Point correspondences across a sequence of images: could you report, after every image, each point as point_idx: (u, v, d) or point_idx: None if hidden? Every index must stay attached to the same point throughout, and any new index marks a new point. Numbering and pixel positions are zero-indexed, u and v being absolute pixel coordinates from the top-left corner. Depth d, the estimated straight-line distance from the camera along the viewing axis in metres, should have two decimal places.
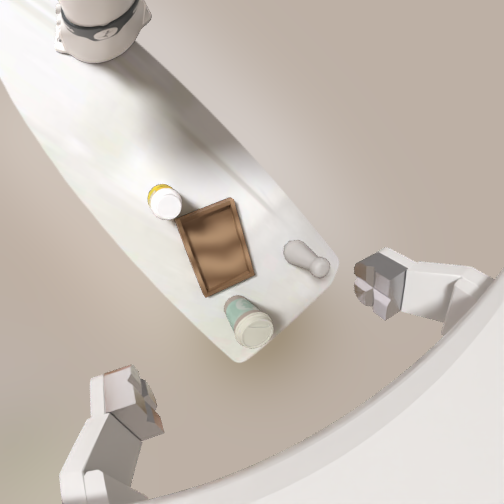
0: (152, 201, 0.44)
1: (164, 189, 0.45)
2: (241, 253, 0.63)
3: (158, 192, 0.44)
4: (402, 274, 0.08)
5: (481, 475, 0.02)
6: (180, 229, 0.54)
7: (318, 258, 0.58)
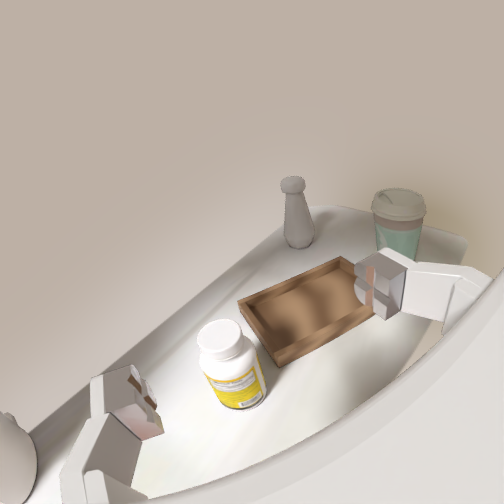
0: (219, 373, 0.23)
1: (200, 360, 0.25)
2: (317, 279, 0.43)
3: (203, 367, 0.24)
4: (402, 274, 0.08)
5: (481, 475, 0.02)
6: (289, 349, 0.31)
7: (282, 189, 0.49)
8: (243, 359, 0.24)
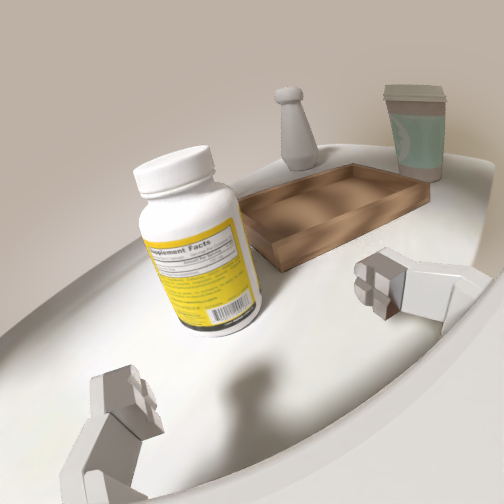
0: (164, 224, 0.12)
1: None
2: (326, 186, 0.32)
3: (141, 223, 0.13)
4: (402, 274, 0.08)
5: (481, 475, 0.02)
6: (297, 237, 0.20)
7: (276, 98, 0.38)
8: (211, 198, 0.13)
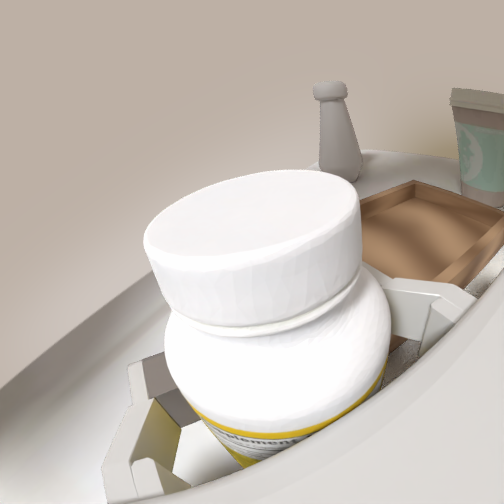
0: (253, 405, 0.04)
1: None
2: (389, 210, 0.24)
3: (177, 373, 0.05)
4: None
5: (481, 475, 0.02)
6: None
7: (317, 94, 0.30)
8: (365, 322, 0.05)
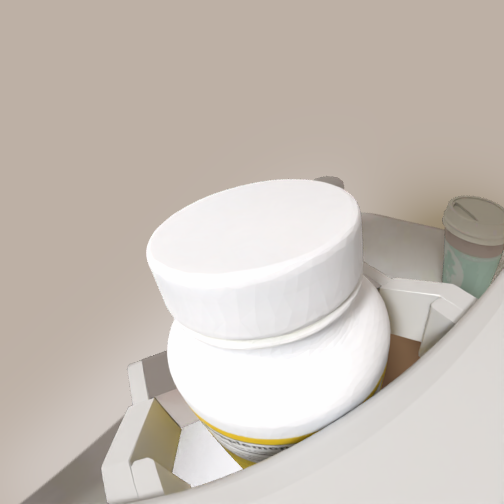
0: (255, 414, 0.04)
1: None
2: None
3: (181, 381, 0.05)
4: None
5: (481, 475, 0.02)
6: None
7: None
8: (365, 333, 0.05)
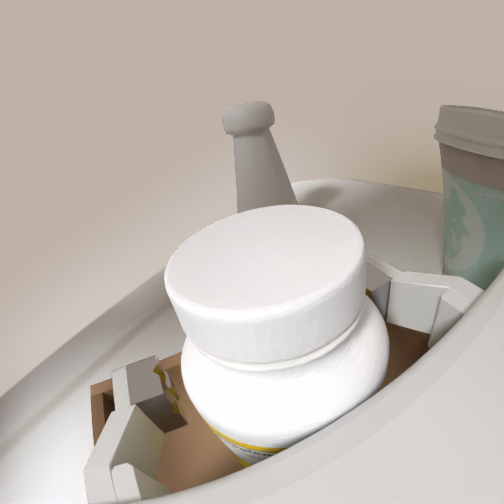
0: (267, 426, 0.05)
1: None
2: None
3: (196, 396, 0.06)
4: (386, 284, 0.08)
5: (481, 475, 0.02)
6: None
7: (224, 126, 0.22)
8: (366, 352, 0.05)
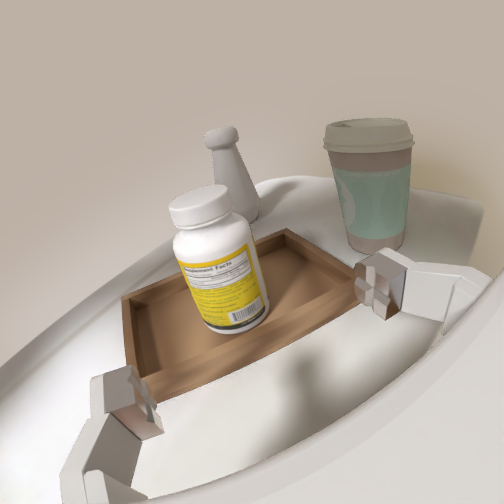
0: (197, 250, 0.17)
1: (173, 244, 0.19)
2: None
3: (177, 248, 0.18)
4: (402, 274, 0.08)
5: (481, 475, 0.02)
6: (152, 380, 0.16)
7: (206, 143, 0.34)
8: (232, 229, 0.18)
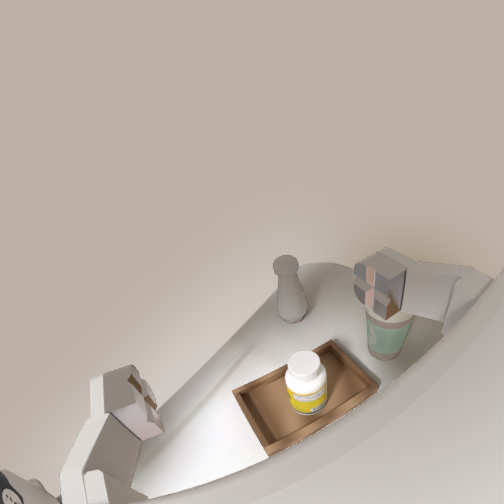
0: (304, 390, 0.32)
1: (286, 381, 0.34)
2: None
3: (291, 386, 0.33)
4: (402, 274, 0.08)
5: (481, 475, 0.02)
6: (277, 445, 0.31)
7: (275, 271, 0.49)
8: (320, 378, 0.32)
